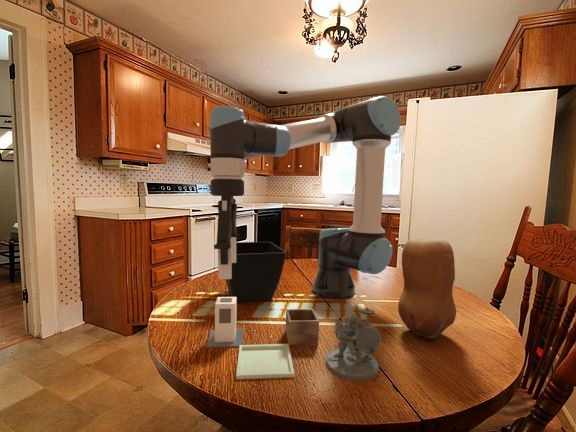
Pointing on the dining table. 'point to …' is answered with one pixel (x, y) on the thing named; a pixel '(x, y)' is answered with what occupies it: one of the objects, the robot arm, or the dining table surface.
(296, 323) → the walnut open box
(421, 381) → the dining table surface
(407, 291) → the butternut squash
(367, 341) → the figurine
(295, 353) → the dining table surface
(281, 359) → the green tray
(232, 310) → the cream square pillar
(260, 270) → the flower pot
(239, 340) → the slate coaster
